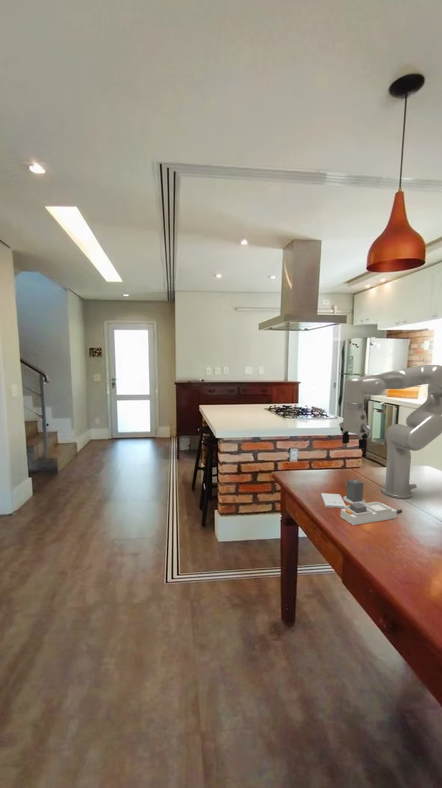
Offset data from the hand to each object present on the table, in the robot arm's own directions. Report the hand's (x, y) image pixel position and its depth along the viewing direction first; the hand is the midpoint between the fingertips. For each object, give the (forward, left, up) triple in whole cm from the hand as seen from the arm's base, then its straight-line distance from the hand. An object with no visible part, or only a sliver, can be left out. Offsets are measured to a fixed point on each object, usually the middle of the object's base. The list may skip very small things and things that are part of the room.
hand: (353, 445), depth 147 cm
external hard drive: (+11, +3, -24) cm, 26 cm away
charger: (+2, +4, -22) cm, 23 cm away
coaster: (+2, +4, -23) cm, 23 cm away
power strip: (+5, +19, -23) cm, 30 cm away
